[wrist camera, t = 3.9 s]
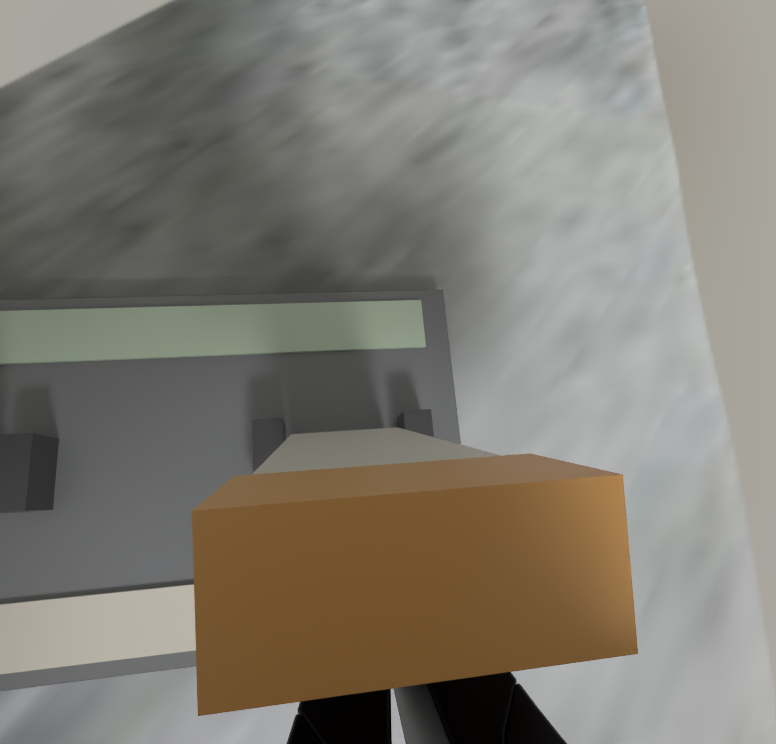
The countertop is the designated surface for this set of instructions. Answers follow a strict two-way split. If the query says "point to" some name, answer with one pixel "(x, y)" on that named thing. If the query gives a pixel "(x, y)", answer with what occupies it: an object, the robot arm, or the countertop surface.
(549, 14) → the countertop surface
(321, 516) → the lever
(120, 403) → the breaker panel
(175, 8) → the countertop surface
